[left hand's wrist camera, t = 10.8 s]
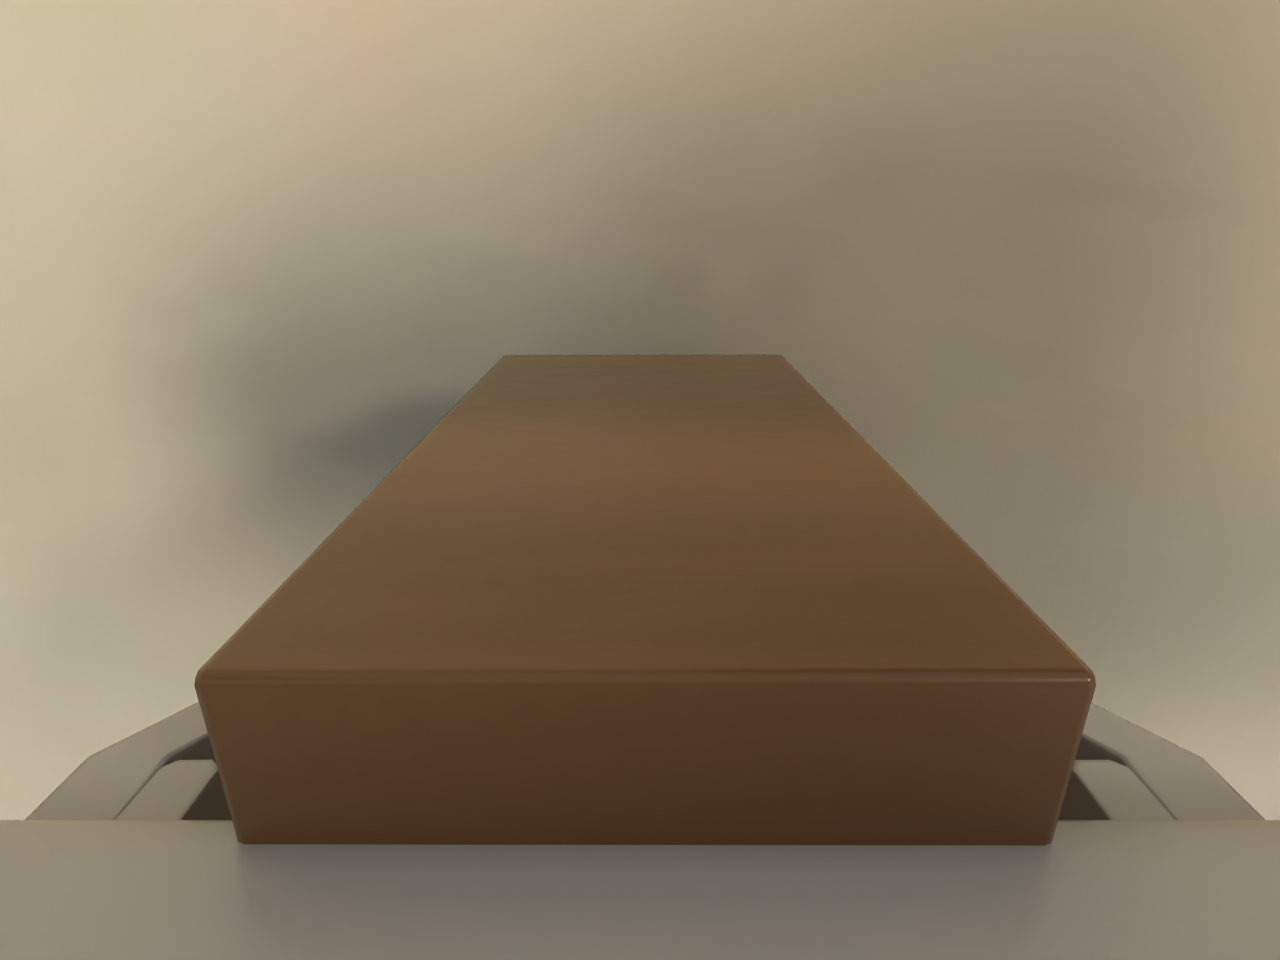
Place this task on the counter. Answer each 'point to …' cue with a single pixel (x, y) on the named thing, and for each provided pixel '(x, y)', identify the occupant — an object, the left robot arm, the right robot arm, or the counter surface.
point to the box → (644, 637)
